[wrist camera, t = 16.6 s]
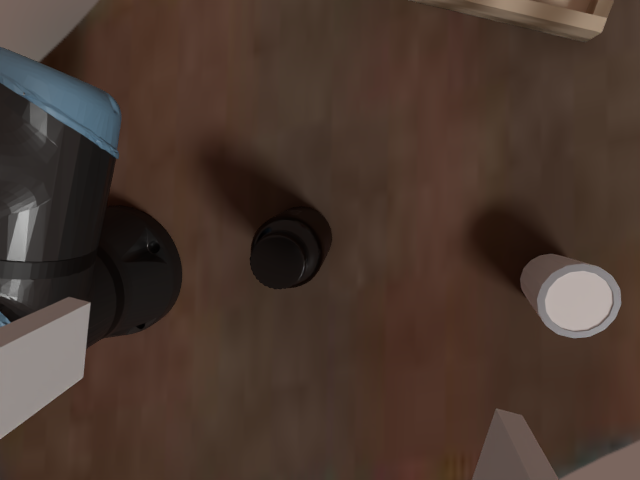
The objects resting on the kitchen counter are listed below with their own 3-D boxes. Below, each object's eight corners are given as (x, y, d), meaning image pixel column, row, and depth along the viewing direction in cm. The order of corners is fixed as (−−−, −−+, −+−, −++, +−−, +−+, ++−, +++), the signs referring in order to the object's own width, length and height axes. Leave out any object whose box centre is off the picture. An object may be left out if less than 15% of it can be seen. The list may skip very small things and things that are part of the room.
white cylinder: (510, 309, 45) (533, 335, 38) (517, 246, 44) (541, 261, 37) (579, 313, 44) (616, 341, 37) (588, 249, 43) (627, 265, 36)
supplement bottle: (264, 253, 48) (226, 282, 36) (284, 196, 46) (250, 208, 35) (321, 275, 47) (300, 313, 36) (342, 219, 46) (328, 238, 34)
